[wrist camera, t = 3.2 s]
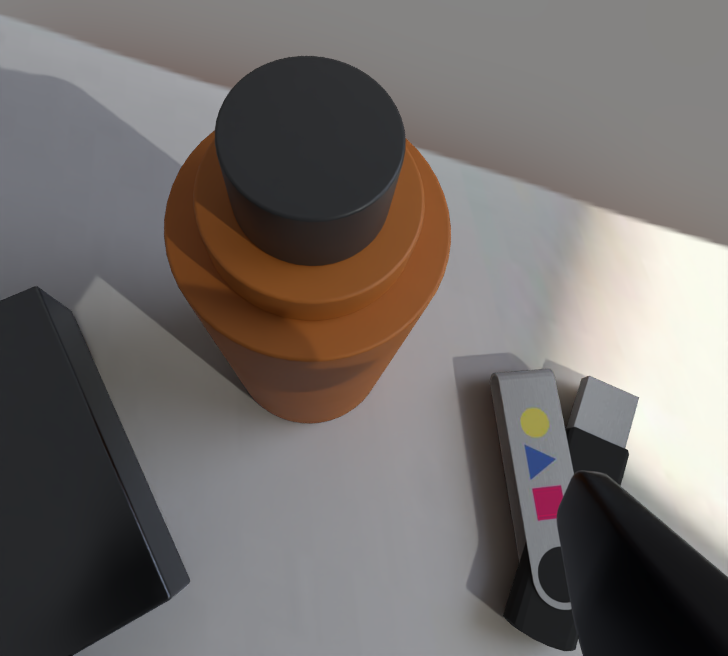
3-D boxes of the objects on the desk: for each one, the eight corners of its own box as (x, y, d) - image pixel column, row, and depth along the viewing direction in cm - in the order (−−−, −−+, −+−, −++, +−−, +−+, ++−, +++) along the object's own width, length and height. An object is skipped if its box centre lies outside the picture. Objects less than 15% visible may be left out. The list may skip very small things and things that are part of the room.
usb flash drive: (564, 650, 17) (579, 659, 17) (413, 582, 18) (419, 588, 17) (632, 403, 20) (648, 399, 19) (499, 345, 20) (509, 338, 19)
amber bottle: (411, 362, 20) (572, 173, 8) (295, 454, 18) (269, 401, 6) (323, 255, 21) (343, -70, 8) (206, 336, 19) (33, 91, 7)
